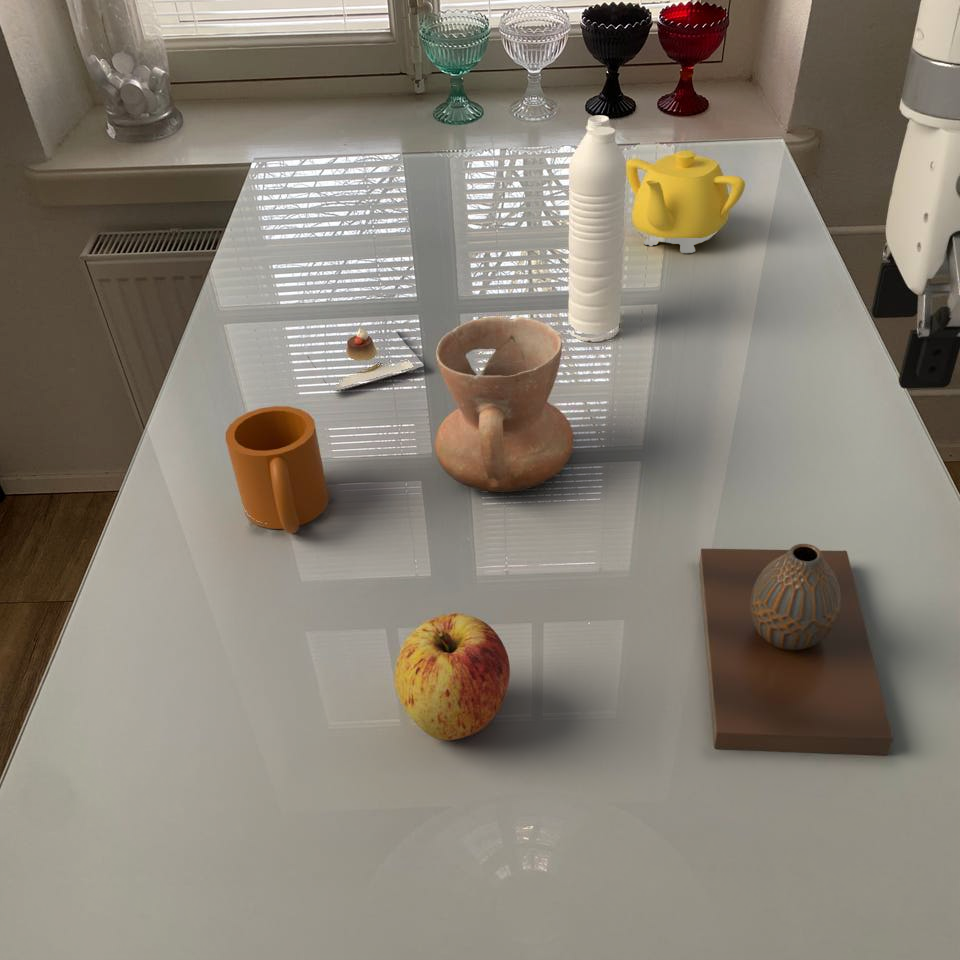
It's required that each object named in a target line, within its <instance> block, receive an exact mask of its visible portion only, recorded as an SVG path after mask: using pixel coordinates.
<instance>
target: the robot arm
mask: <svg viewBox="0 0 960 960" xmlns="http://www.w3.org/2000/svg"><path fill="white" fill-rule="evenodd" d="M901 92H902V93H901V98H900V103H899V107H898V108H899V111H900V113H901V115H902V116H903V117H905V118H906V119H909V120H908V123H907V125H906V131H905V134H904V138H903V142H902V146H901V149H900V150H901V151H900V154H899V159H898V162H897V165H896V166H897V167H896V170H895V175H894V179H893V183H892V188H891V193H890V197H889V203H888V209H887V215H886V224H885V238H886V242H885V244H884V246H883V252H882V259H883V261H884V262H881V263H880V266H879V271H878V275H877V282H876V286H875V291H874V296H873V301H872V305H871V310H870V312H871V314H872V317H873V318H874V319H896V318H914V317H915V316H917V317H916V322H917V323H916V329H910V331H909V336H908V339H907V343H906V348H905V352H904V355H903V360H902V363H901V368H900V372H899V375H898V376H899V377H898V384H899V385H900V387H901V388H902V389H940V388H943V389H944V388H947V387H948V386H950V384H951V381H952V377H953V375H954V371H955V367H956V364H957V361H958V357H959V354H960V0H920V3H919V8H918V14H917V19H916V23H915V29H914V34H913V39H912V44H911V48H910V52H909V58H908V61H907V67H906V71H905V77H904V82H903V88H902V91H901ZM934 278H948V279H949V282H939V283H936V282H935V283H931V279H934ZM933 298H947V301H946V302H947V305H946V306H940V307H939V308H938V309H937V310H936V311H935V312H933Z"/></svg>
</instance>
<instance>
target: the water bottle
mask: <svg viewBox="0 0 960 960" xmlns="http://www.w3.org/2000/svg"><path fill="white" fill-rule="evenodd" d="M585 129H586V133H585V135H584V136H583V138H582V139H581V141H580V142H579V144H578V146H577V148H576V149H575V151H574V152H573V154H572V155H571V158H570V161H569V164H568V186H569V188H568V250H569V251H568V277H569V278H568V285H567V286H568V314H567V315H568V316H567V317H568V319H567V322H568V321H569V324H570V325H571V327H573V328H574V329H575V330H577V331H579V332H582V333H585V334H596V335H599V334H603V333H607V332H610V331H611V330H613V329H615V328H616V327H617V326H618V325H619V323H620V324H621V306H622V296H621V295H622V288H623V287H622V279H623V267H622V266H623V259H624V252H623V249H624V242H625V241H624V238H625V237H624V235H625V234H624V232H625V231H624V228H625V205H626V201H625V199H626V182H627V175H626V163H627V161H626V157H625V155H624V152H623V151H622V149H621V148H620V146H619V144H618V143H617V140H616V129H615V128H613V127H612V125H611V124H610V118H609V116H606V115H602V114H601V115H597V114H596V115H591V116H589V118H588V120H587V125H586V126H585ZM567 329H568V333H569V334H570V335H571V336H572V337H573V338H576V339H577V340H579V341H582V342H592V343H596V342H599V343H600V342H603V341H604V340H605V341H607V340H610V339H612V338H614V337H615V336H616V335H617V334H618V333H619V332H620V329H621V327H620V328H619V329H618V331H616V332H615V333H613V334H611V335H609V336H606V337H600V338H586V337H581V336H578V335H575V334H574V333H572V332H571V331H570V330H569V328H567Z"/></svg>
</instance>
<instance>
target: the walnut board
mask: <svg viewBox="0 0 960 960" xmlns="http://www.w3.org/2000/svg"><path fill="white" fill-rule="evenodd" d="M789 550H790V549H762V548H761V549H757V548H756V549H755V548H754V549H753V548H750V549H749V548H700V552H699V553H700V554H699V560H698V562H699V563H698V568H699V569H698V570H699V581H700V592H701V594H700V595H701V606H702V616H703V617H702V618H703V619H702V620H703V628H704V642H705V653H706V665H707V666H706V667H707V678H708V679H707V680H708V690H709V701H710V702H709V703H710V713H711V727H712V738H713V748H714V749H715V750H718V749H719V750H742V751H768V752H791V753H793V752H795V753H814V754H815V753H816V754H817V753H818V754H841V755H842V754H843V755H865V756H866V755H869V756H870V755H872V756H888V754H889V752H890V749H891V747H892V744H893V740H894V736H893V732H892V729H891V728H892V727H891V724H890V720H889V716H888V712H887V708H886V705H885V700H884V696H883V692H882V688H881V685H880V680H879V676H878V671H877V667H876V663H875V660H874V655H873V651H872V648H871V643H870V640H869V639H870V638H869V636H868V631H867V627H866V622H865V619H864V615H863V610H862V607H861V603H860V599H859V595H858V590H857V587H856V582H855V579H854V575H853V570H852V566H851V563H850V558H849V554H848V551H847V550H820V549H819V550H820V551H821V554H822V557H823V559H824V561H825V562H826V563H827V564H828V566H829V567H830V568H831V569H832V571H833V572H834V574H835V576H836V578H837V580H838V583H839V587H840V595H841V603H840V609H839V613H838V616H837V619H836V622H835V624H834V626H833V627H832V629H831V630H830V632H829V633H828V634H827V635H826V637H824V638H823V639H822V640H821V641H820V642H819V643H817V644H815V645H813V646H811V647H809V648H805V649H800V650H785V649H781V648H778V647H776V646H774V645H772V644H770V643H769V642H767V641H766V640H765V639H764V638H763V637H762V636H761V635H760V634H759V633H758V631H757V630H756V628H755V626H754V623H753V620H752V616H751V610H750V603H751V595H752V590H753V587H754V584H755V582H756V580H757V578H758V577H759V575H760V573H761V572H762V571H763V569H764V568H765V567H766V566H767V565H768V564H770V563H771V562H772V561H774V560H775V559H777V558H779V557H780V556H782V555H784V554H786V553H787V552H788V551H789Z"/></svg>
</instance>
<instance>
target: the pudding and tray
mask: <svg viewBox="0 0 960 960" xmlns="http://www.w3.org/2000/svg"><path fill="white" fill-rule="evenodd" d="M367 331H368V330H366V329H364V328H362V327H361V328H360V327H358V330H357V332H356V334H357V335H355V336H353V337H351V338H349V339H348V341H347V348H346V354H347V355H348V357H350V358H351V359H354V360H358V361H361V360H369V359H372V358H374V357H375V355H377V349H376V346H375V344H374V342H373V340H372V338H371V337H370V336H368V332H367ZM405 360H407V359H405ZM400 361H404V360H400ZM378 363H379V362H378ZM384 363H385V362H384ZM395 363H396V362H395ZM381 364H383V363H380V365H379V364H376V365H374V366H372V367H369V368H368V369H364V370H367V371H364V372H362V371H360V372H357V373H360V374H357V373H353V375H349V376H346V378H343V381H342V380H339V384H336V387H337V388H340V387H344V386H348V385H351V384H355V383H358V382H362V381H366V380H369V379H373V378H376V377H380V376H383V375H387V374H391V373H394V372H398V371H401V370H405V369H408V368H412V367H414V366H413V365H412V364H411V363H410V361H409V360H408V362H407V361H404V362H403V363H402V362H399V364H395V365H394V367H393V366H392V365H391V366H389V365H390V364H388V363H387V365H385V364H383V365H381ZM391 364H392V363H391ZM402 364H403V365H402ZM378 365H379V366H378ZM396 365H398V366H396ZM370 368H371V369H370ZM415 370H416V369H414V370H411V371H407V372H404V373H400V374H396V375H393V376H389V377H386V378H382V379H379V380H375V381H372V382H368V383H364V384H361V385H357V386H354V387H350V388H347V389H343V390H339V391H338V392H342V391H345V390H349V389H353V388H356V387H361V386H363V385H367V384H371V383H374V382H377V381H381V380H385V379H388V378H391V377H395V376H399V375H402V374H407V373H410V372H412V371H415ZM355 374H356V375H355ZM346 375H348V374H346ZM343 377H344V376H343ZM348 377H349V378H348ZM340 381H341V382H340ZM337 383H338V382H337Z"/></svg>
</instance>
